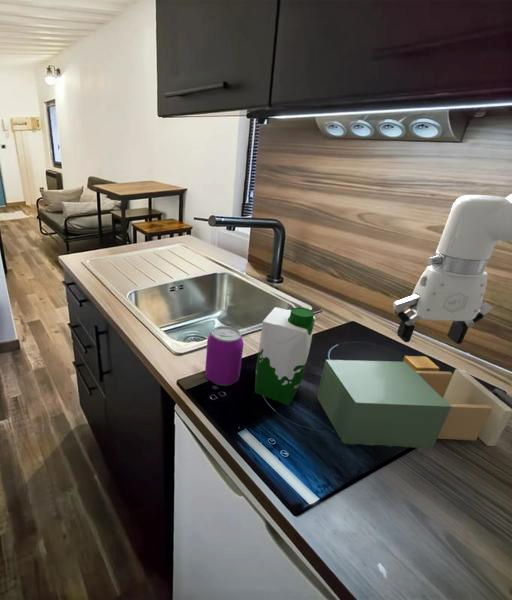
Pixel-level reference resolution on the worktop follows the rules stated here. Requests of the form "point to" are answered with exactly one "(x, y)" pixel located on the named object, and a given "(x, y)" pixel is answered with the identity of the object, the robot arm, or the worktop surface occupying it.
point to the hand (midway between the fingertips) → (427, 339)
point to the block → (421, 363)
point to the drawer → (470, 406)
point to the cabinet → (381, 403)
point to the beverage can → (224, 355)
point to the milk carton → (283, 353)
